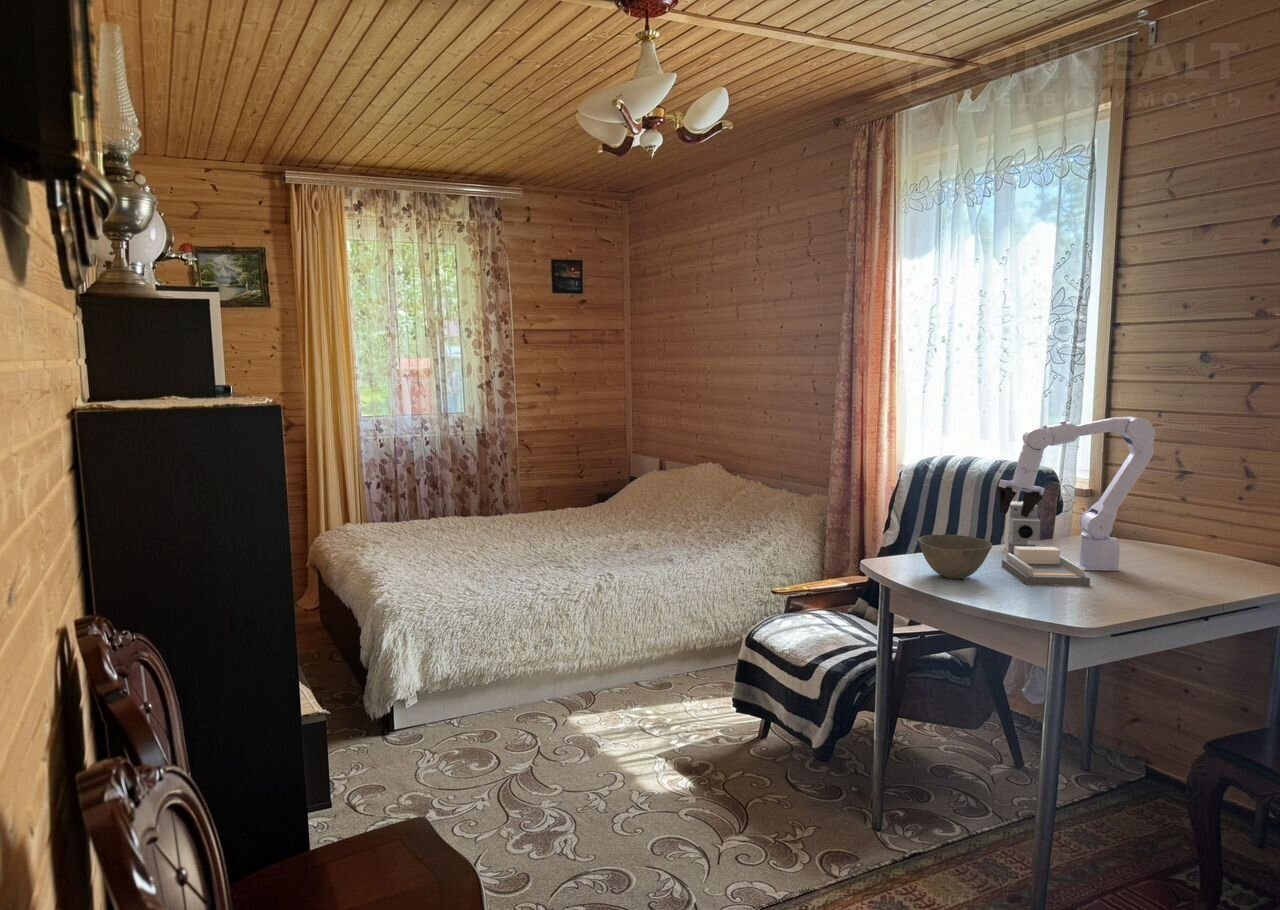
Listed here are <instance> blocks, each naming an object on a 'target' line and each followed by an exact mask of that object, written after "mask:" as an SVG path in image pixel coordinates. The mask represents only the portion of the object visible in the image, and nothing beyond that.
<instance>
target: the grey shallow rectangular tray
mask: <svg viewBox="0 0 1280 910" xmlns="http://www.w3.org/2000/svg"><path fill="white" fill-rule="evenodd" d="M1006 553H1007V554H1006V558H1002V559H1001V567H1002V568H1004V569H1005V570H1006V569H1007V570H1006V571H1008V572H1009V573H1010V572H1011V573H1010V574H1012V575H1015V576H1014V577H1016V578H1017V579H1018V578H1019V579H1018V580H1020V581H1021V582H1022V581H1023V582H1022V583H1024V584H1025V585H1043V584H1058V585H1057V586H1091V577H1090V576H1087V575H1086V570H1085V569H1083V568H1082V567H1080V566H1078V565H1076V564H1075V563H1074V562H1073V561H1071V560H1069V559H1067V558H1066V557H1064V556H1063V555H1061V554H1060V564H1026V563H1024V562H1023V561H1021V560H1020V559H1019V558H1017V557H1016V556H1014V554H1011V553H1008V552H1006Z"/></svg>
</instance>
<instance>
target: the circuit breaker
mask: <svg viewBox="0 0 1280 910" xmlns="http://www.w3.org/2000/svg"><path fill="white" fill-rule="evenodd" d="M1022 506H1023V500H1022V501H1017V500H1012V501H1011V504H1010V507H1009V509H1008V512H1007V514H1005V528H1004V529H1005V532H1004V537H1003V538H1004V540H1003V541H1004V542H1003V544H1004V547H1005V548H1004V550H1005V549H1006V550H1007V551H1006V553H1014V546H1022V547H1040V542H1041V541H1040V537H1041V520H1040V519H1039V518H1038V508H1039V506H1038V504H1036V505H1035V506H1034V508H1033V509H1032V511H1031V512H1030V514H1029V515H1028V517H1024V516H1022V515H1021V509H1022Z"/></svg>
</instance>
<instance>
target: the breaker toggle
mask: <svg viewBox="0 0 1280 910" xmlns="http://www.w3.org/2000/svg"><path fill="white" fill-rule="evenodd" d="M1013 555H1014V556H1016V557H1017V558H1019V559H1020V560H1021V561H1023V562H1024V563H1026V564H1060V555H1061V550H1060V549H1059V548H1058V547H1056V546H1035V547H1022V546H1014V554H1013Z"/></svg>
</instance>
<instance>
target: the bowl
mask: <svg viewBox="0 0 1280 910" xmlns="http://www.w3.org/2000/svg"><path fill="white" fill-rule="evenodd" d="M917 542H918V544H919V547H920V550H921V552H922V555H923V557H924V559H925V561H926V562H927V564H928V565H929V566H930V568H931V569H932V570H933V571H934V572H935V573H936V574H938V575H940V576H941V577H944V578H947V579H953V580H957V579H958V580H961V579H965V578H966V579H967V578H968V577H971V576H972V575H973V574H975V573H976V572H977V571H978V570H979V568H980V567H981V566H982V565H983V564H984V562H985V560H986V558H987V557H988V555H989V553H990V551H991V549H992V547H993V543H992V542H991V541H990V540H989V541H988V540H986V539H983V538H980V537H979V538H978V537H973V536H968V535H960V534H945V533H944V534H943V533H942V534H928V535H927V534H926V535H923V536H920V537H918V539H917Z"/></svg>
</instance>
